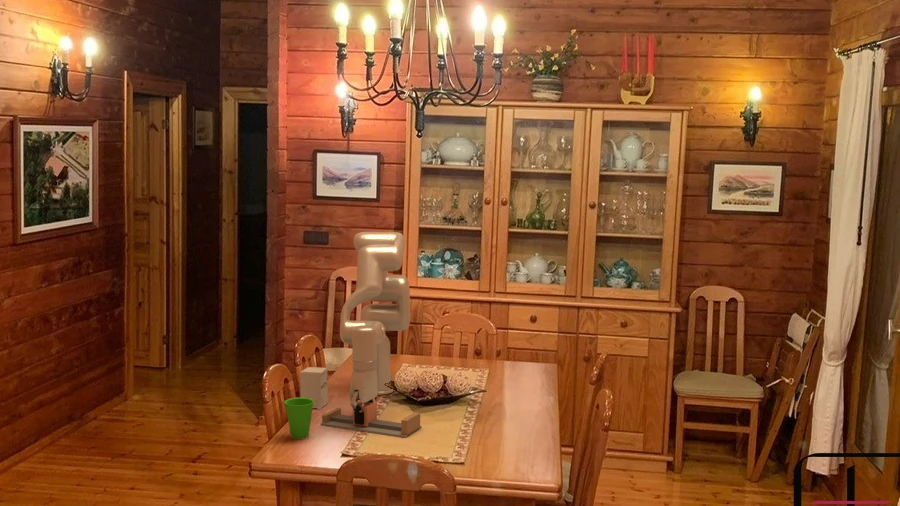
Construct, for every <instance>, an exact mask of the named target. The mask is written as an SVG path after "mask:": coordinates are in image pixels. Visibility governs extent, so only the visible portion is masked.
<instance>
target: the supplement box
mask: <svg viewBox="0 0 900 506" xmlns="http://www.w3.org/2000/svg"><path fill="white" fill-rule="evenodd" d="M299 374H300V375H299V377H300V378H299V381H300V383H299V384H300V385H299V387H300V392H299V393H300V396H299V397H305V398H311V399H313V400H314V401H315V402H314V403H313V408H317V409H316V410H321V409H322V408H324V406H326V405H327V404H328V367H317V366H316V367H314V366H313V367H312V366H307V367H306V368H304V369H303V370H301V371H300V372H299Z"/></svg>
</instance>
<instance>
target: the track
mask: <svg viewBox="0 0 900 506" xmlns="http://www.w3.org/2000/svg"><path fill="white" fill-rule="evenodd" d="M321 419H322V420H321V423H320V426H322V425H325V426H324V427H329V426H331V427H330V428H336V427H337V429H344V430H350V431H356V430H359V431H358V432H363V431H365V432H366V433H371V434H378V435H384V436H390V437H397V438H403V437H404V439H406V438H408V437H409V436H411V435H413V434H414V433H416V432H418V431H419V430H421V429H422V425H421V412H416V411H414V412H412V413H410V414H409V415H407V416H405V417H404V418H402V419H401V421H400V422H398V421H397V422H396V421H391V420H390V421H389V420H383V419H377V420H376V419H374V420H373V421H371V422H369V423H368V426H360V425H353V415H345V414H342V408H341V407H336V408H334V409H331V410H329V411H328V412H325V413H323V414H322V417H321ZM365 432H364V433H365Z"/></svg>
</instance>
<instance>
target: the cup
mask: <svg viewBox="0 0 900 506" xmlns="http://www.w3.org/2000/svg"><path fill="white" fill-rule="evenodd" d="M314 402H315V401H314V400H313V399H311V398H305V397H300V396H299V397H298V396H297V397H291V398H288V399H286V400H284V401H283V404H284V405H285V410H286V415H287V421H288V427H289V433H290V437H291V438H292V437H293V438H295V439H294V440H303V439H302V438H305V439H307V438H308V437H309V435H310V430H311V429H310V428H311V422H312V421H311V420H312V414H313V409H312V408H313V403H314ZM306 437H307V438H306ZM293 438H292V439H293Z"/></svg>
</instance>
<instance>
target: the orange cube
mask: <svg viewBox="0 0 900 506" xmlns="http://www.w3.org/2000/svg"><path fill="white" fill-rule="evenodd" d="M358 405H359V407H360V406H361V404H358ZM377 407H378V406H377V402H376V403H374V402H366V403H364V408H363V412H364V424H363V425H360V426H368V423H369V422H371V421H373V420H374V419H376V420H378V417H377V416H378V415H377V413H378V412H377V410H378V409H377ZM352 416H353V425H359V424H355V423H354V411H353V410H352Z"/></svg>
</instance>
